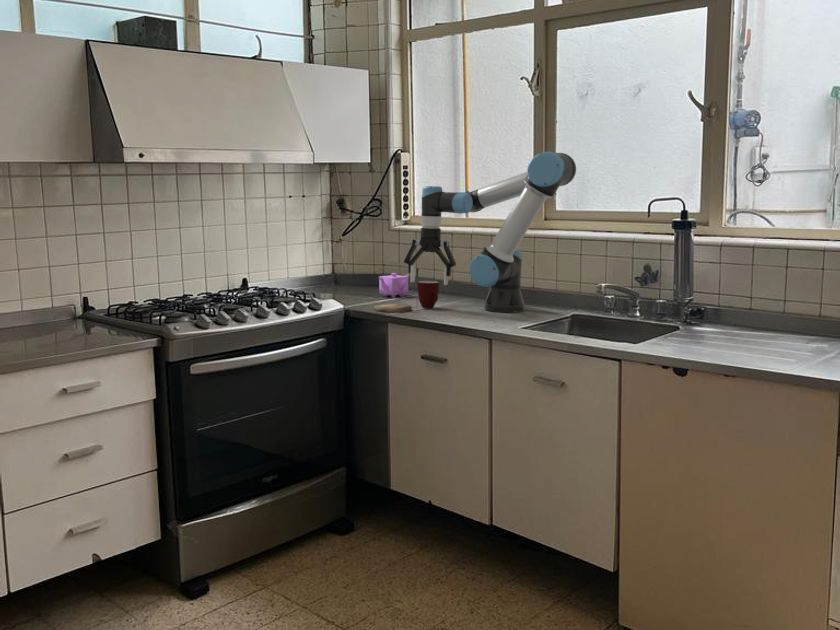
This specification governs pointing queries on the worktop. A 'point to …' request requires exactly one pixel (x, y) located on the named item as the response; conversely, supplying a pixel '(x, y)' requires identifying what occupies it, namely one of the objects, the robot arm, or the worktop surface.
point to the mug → (428, 293)
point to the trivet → (392, 308)
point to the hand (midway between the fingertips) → (429, 283)
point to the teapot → (393, 285)
